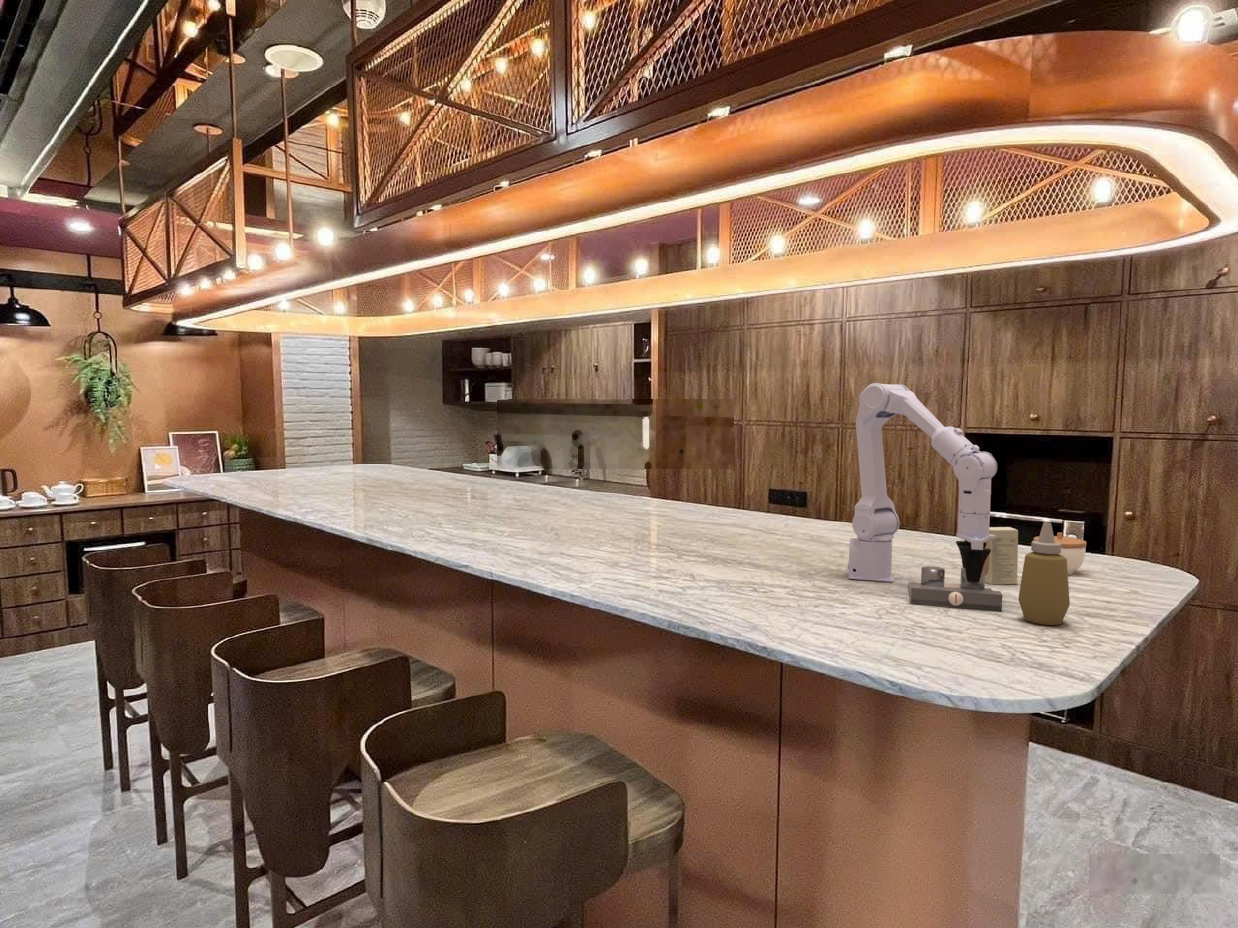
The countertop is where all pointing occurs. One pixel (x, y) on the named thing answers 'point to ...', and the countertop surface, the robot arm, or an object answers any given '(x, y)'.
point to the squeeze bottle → (1044, 581)
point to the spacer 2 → (972, 585)
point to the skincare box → (1002, 556)
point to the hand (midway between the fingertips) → (971, 578)
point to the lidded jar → (1071, 551)
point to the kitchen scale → (955, 597)
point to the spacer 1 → (932, 576)
